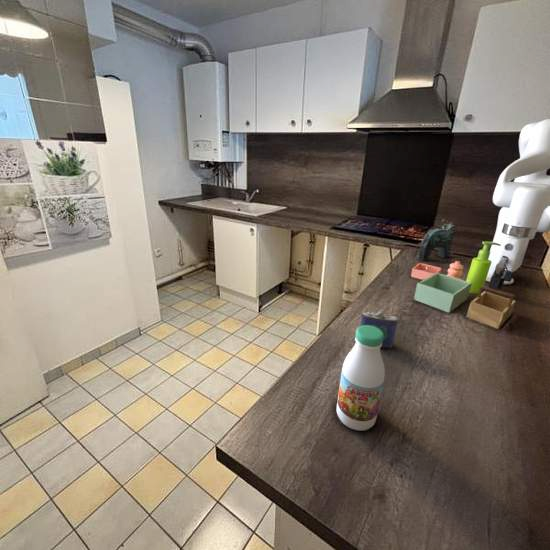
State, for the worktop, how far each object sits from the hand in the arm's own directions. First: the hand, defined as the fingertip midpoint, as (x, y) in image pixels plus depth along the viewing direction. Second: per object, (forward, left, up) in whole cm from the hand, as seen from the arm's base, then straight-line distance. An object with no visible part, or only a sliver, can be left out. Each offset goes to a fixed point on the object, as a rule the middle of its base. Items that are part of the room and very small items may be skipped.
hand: (499, 284), depth 91 cm
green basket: (+1, -15, -12) cm, 19 cm away
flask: (+43, -15, -12) cm, 47 cm away
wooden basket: (0, 0, -12) cm, 12 cm away
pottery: (-17, -24, -12) cm, 32 cm away
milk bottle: (+67, -4, -12) cm, 68 cm away
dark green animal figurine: (-45, -37, -12) cm, 60 cm away
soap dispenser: (-17, -10, -12) cm, 23 cm away
